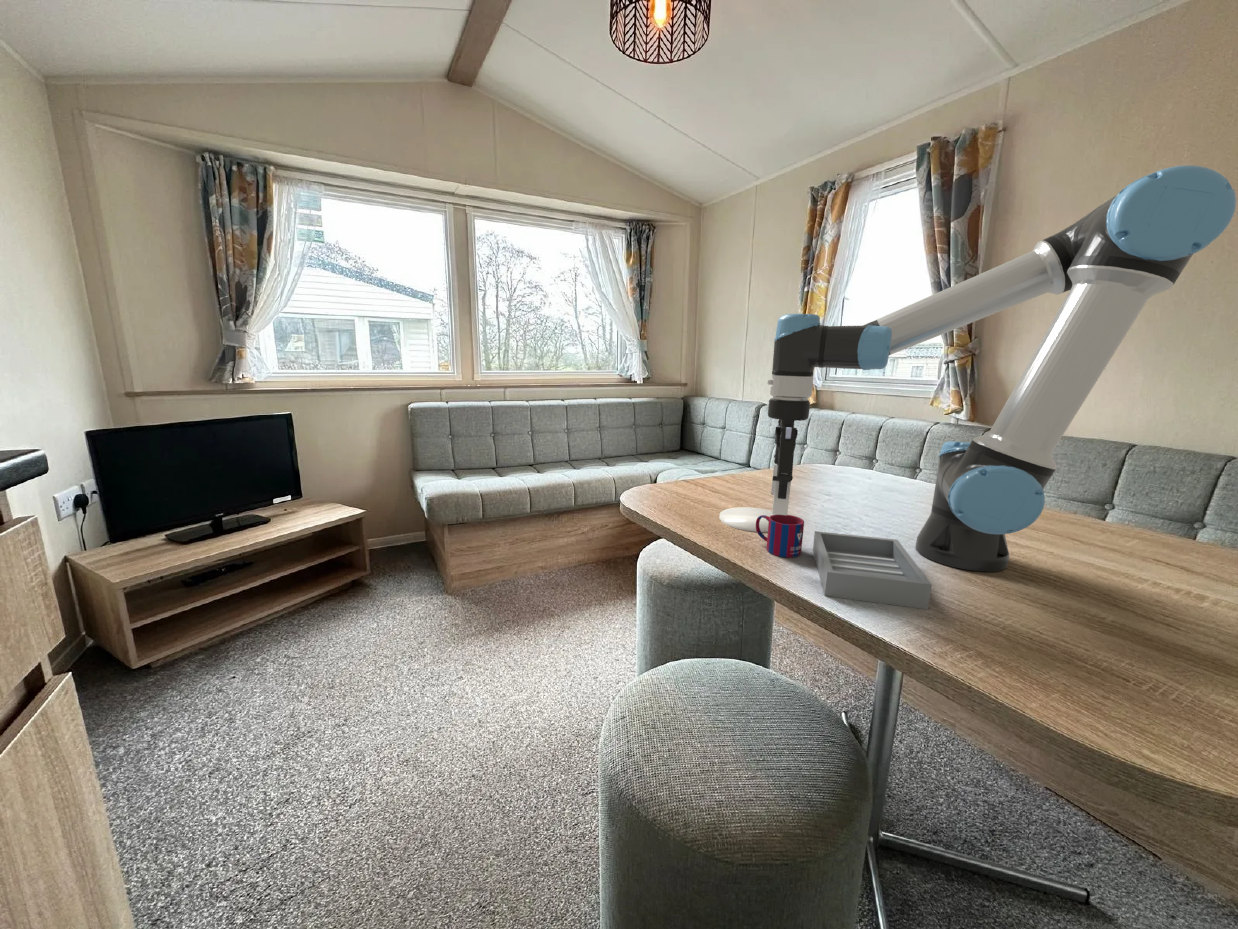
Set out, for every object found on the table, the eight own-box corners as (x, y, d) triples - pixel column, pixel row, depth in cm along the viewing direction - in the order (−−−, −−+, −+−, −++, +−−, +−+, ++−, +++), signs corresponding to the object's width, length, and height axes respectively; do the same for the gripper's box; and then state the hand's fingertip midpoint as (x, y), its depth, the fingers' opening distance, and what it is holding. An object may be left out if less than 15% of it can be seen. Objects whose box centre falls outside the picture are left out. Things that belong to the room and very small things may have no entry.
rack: (894, 559, 94) (897, 539, 93) (927, 609, 75) (931, 584, 75) (812, 550, 98) (814, 531, 97) (824, 595, 80) (827, 571, 79)
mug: (787, 560, 93) (790, 527, 92) (746, 544, 101) (749, 513, 100) (808, 553, 97) (811, 521, 96) (767, 538, 105) (770, 508, 104)
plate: (786, 515, 122) (786, 510, 122) (789, 537, 107) (790, 531, 107) (721, 509, 126) (722, 504, 126) (716, 529, 111) (716, 524, 111)
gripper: (768, 392, 105) (759, 486, 110) (770, 402, 82) (758, 521, 87) (805, 394, 103) (794, 490, 108) (817, 405, 80) (803, 526, 85)
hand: (778, 504), depth 97 cm, fingers open, 13 cm apart
